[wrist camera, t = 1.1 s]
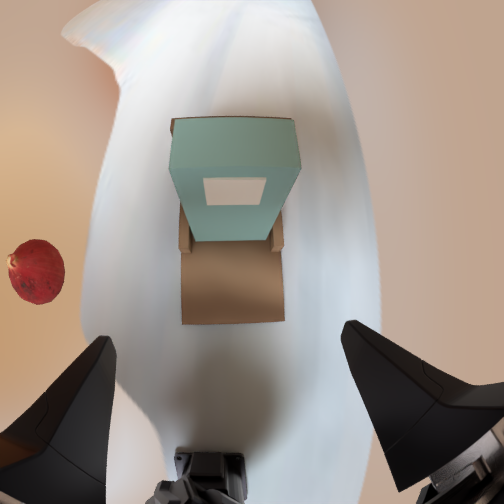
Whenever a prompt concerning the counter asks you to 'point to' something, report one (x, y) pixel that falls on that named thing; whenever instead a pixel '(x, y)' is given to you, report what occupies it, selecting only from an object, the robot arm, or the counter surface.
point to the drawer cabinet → (231, 274)
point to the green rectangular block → (233, 174)
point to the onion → (36, 271)
